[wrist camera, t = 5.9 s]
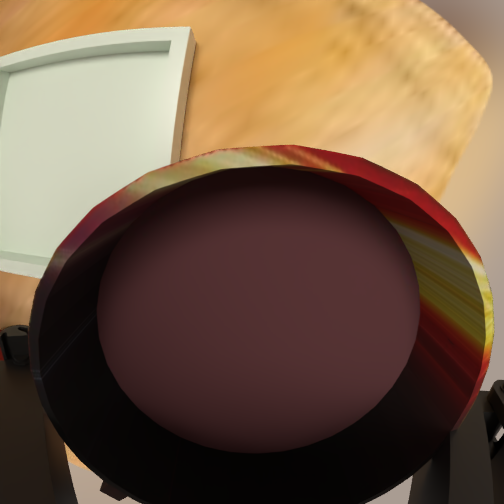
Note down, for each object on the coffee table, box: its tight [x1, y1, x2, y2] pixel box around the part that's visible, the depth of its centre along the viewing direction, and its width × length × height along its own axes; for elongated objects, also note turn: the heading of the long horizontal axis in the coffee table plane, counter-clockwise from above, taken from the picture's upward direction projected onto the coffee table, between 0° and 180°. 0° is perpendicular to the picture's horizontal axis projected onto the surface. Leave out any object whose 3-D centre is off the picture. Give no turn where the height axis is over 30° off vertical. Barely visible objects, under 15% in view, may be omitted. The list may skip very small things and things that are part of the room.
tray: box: [0, 27, 196, 279], centre depth 21 cm, size 20×20×3 cm
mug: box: [28, 145, 494, 504], centre depth 11 cm, size 10×14×12 cm
